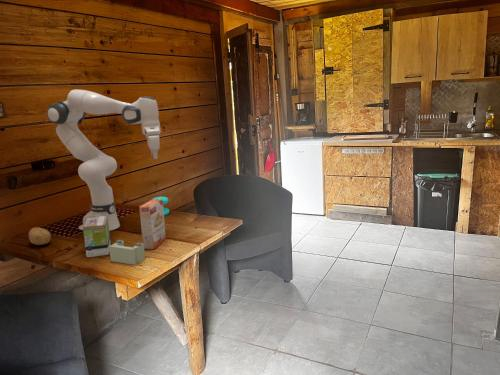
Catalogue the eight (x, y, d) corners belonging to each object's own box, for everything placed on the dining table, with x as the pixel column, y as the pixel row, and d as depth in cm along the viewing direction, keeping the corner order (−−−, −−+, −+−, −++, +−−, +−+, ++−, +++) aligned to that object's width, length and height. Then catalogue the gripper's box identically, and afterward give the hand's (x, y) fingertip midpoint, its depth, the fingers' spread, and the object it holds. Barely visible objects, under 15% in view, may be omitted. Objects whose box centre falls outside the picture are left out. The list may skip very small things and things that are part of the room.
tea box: (109, 254, 178) (105, 224, 175) (86, 258, 175) (81, 227, 172) (111, 243, 192) (107, 214, 189) (89, 246, 189) (85, 217, 186)
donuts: (171, 196, 237) (161, 201, 228) (172, 212, 239) (163, 217, 230) (158, 195, 241) (147, 199, 232) (159, 211, 243) (149, 215, 234)
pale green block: (110, 261, 171) (108, 244, 169) (121, 254, 177) (119, 238, 175) (135, 265, 166) (133, 247, 164) (145, 258, 172) (143, 242, 170)
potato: (36, 250, 187) (33, 234, 185) (25, 244, 196) (23, 229, 194) (57, 244, 194) (54, 229, 192) (46, 238, 203) (43, 223, 201)
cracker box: (154, 249, 182) (150, 206, 177) (143, 249, 183) (138, 206, 178) (167, 239, 195) (163, 198, 190) (155, 238, 196) (151, 198, 191)
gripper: (143, 129, 201) (146, 155, 204) (146, 131, 182) (150, 161, 185) (155, 128, 203) (158, 154, 206) (160, 130, 184) (163, 159, 187)
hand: (154, 157), depth 196 cm, fingers open, 8 cm apart
